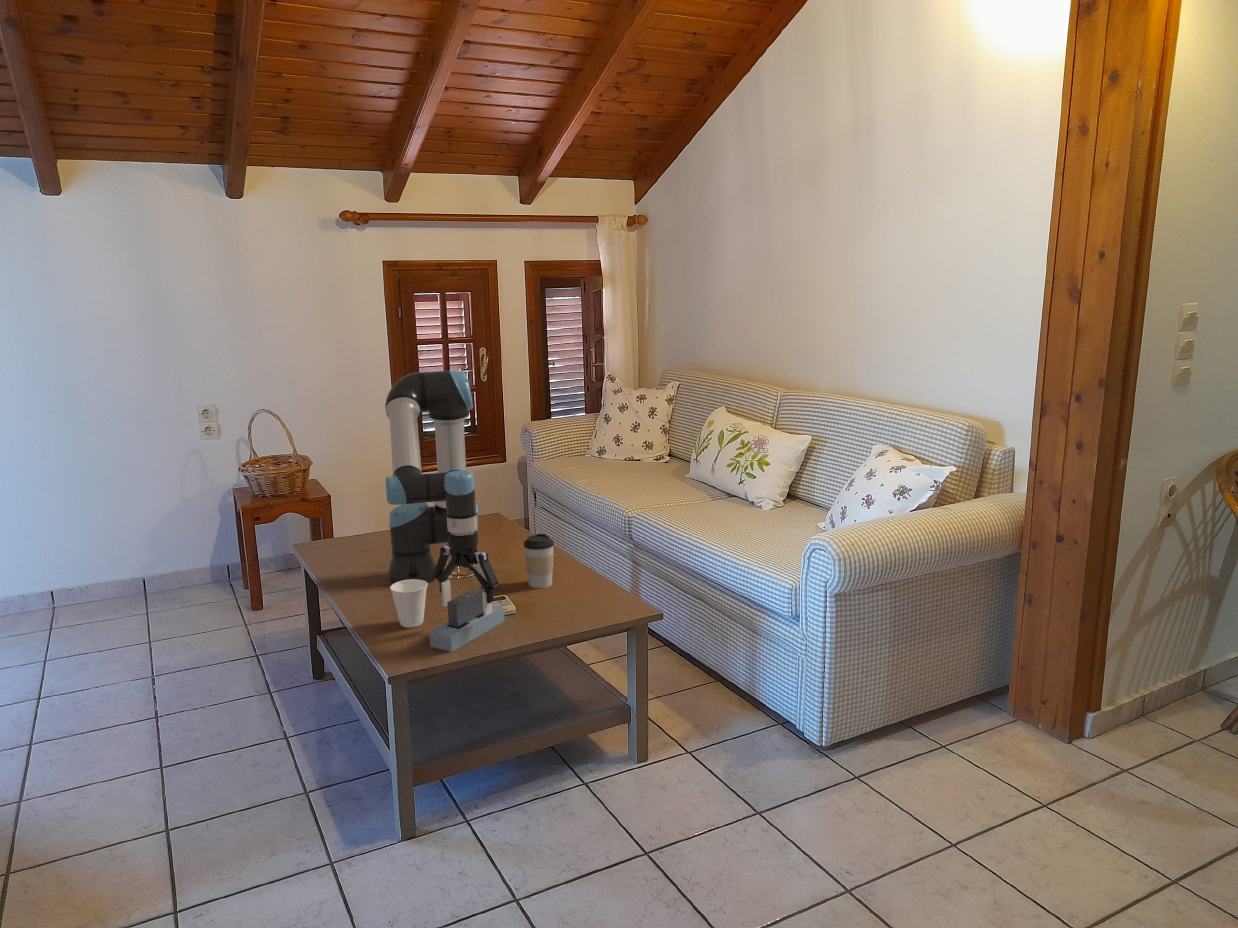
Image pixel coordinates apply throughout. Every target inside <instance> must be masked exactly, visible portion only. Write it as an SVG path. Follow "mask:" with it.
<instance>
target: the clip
mask: <svg viewBox="0 0 1238 928" xmlns="http://www.w3.org/2000/svg"><path fill="white" fill-rule="evenodd" d="M482 591H484V588H479V587H474V588H473V589H470V590H468V591H467V592H464V593H462V594H460V595H459V596H456V597H455V598H452V599H451V601H449V602H447V605H448V606H447V615H448V616H447V618H448V622H449V626H451V627H452V628H456V629H460V628H462V627H464V626H465V624H466V623H468V622H470V621H472V620H473V619H475V618H480V617H482V616H484V613H483V596H482Z"/></svg>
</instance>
